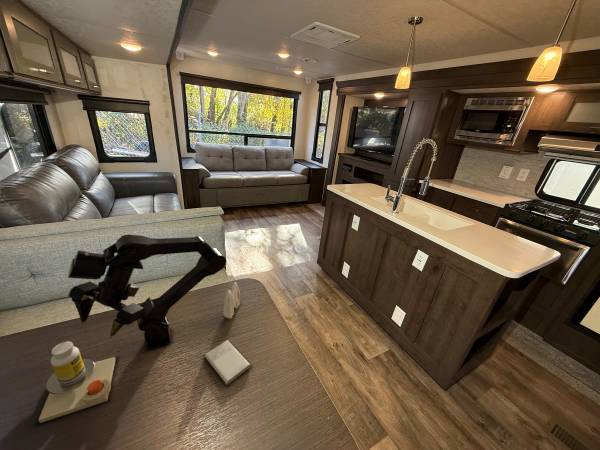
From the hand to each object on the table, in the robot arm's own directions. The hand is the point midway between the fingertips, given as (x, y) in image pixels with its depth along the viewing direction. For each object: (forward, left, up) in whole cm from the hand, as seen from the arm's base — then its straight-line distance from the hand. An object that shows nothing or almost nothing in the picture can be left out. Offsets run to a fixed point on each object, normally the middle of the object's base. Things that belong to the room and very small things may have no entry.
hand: (98, 328), depth 69 cm
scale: (+4, +7, -13) cm, 15 cm away
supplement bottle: (+6, +5, -9) cm, 12 cm away
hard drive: (-33, +14, -13) cm, 38 cm away
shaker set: (-39, -8, -13) cm, 41 cm away
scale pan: (+6, +5, -10) cm, 13 cm away
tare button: (0, +11, -10) cm, 15 cm away
